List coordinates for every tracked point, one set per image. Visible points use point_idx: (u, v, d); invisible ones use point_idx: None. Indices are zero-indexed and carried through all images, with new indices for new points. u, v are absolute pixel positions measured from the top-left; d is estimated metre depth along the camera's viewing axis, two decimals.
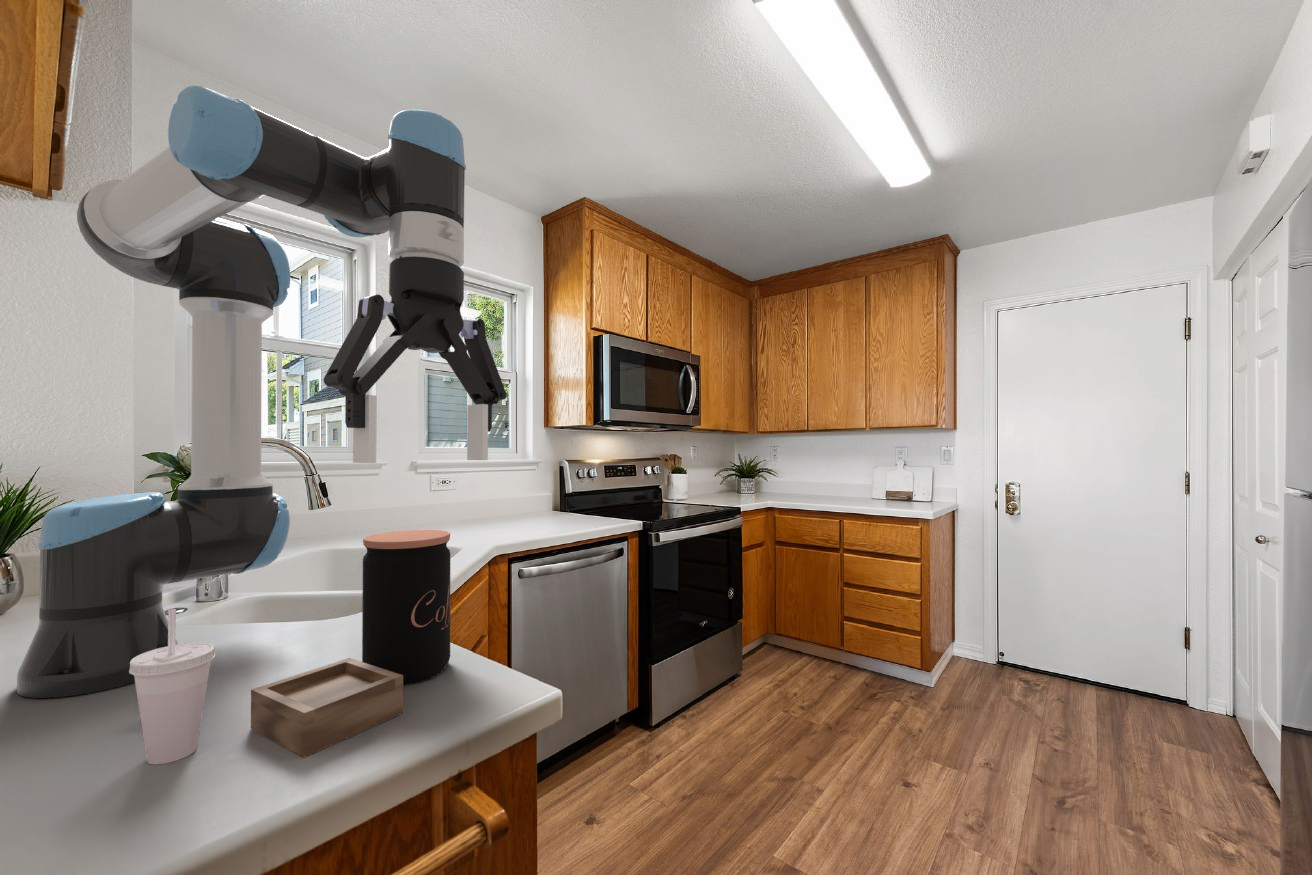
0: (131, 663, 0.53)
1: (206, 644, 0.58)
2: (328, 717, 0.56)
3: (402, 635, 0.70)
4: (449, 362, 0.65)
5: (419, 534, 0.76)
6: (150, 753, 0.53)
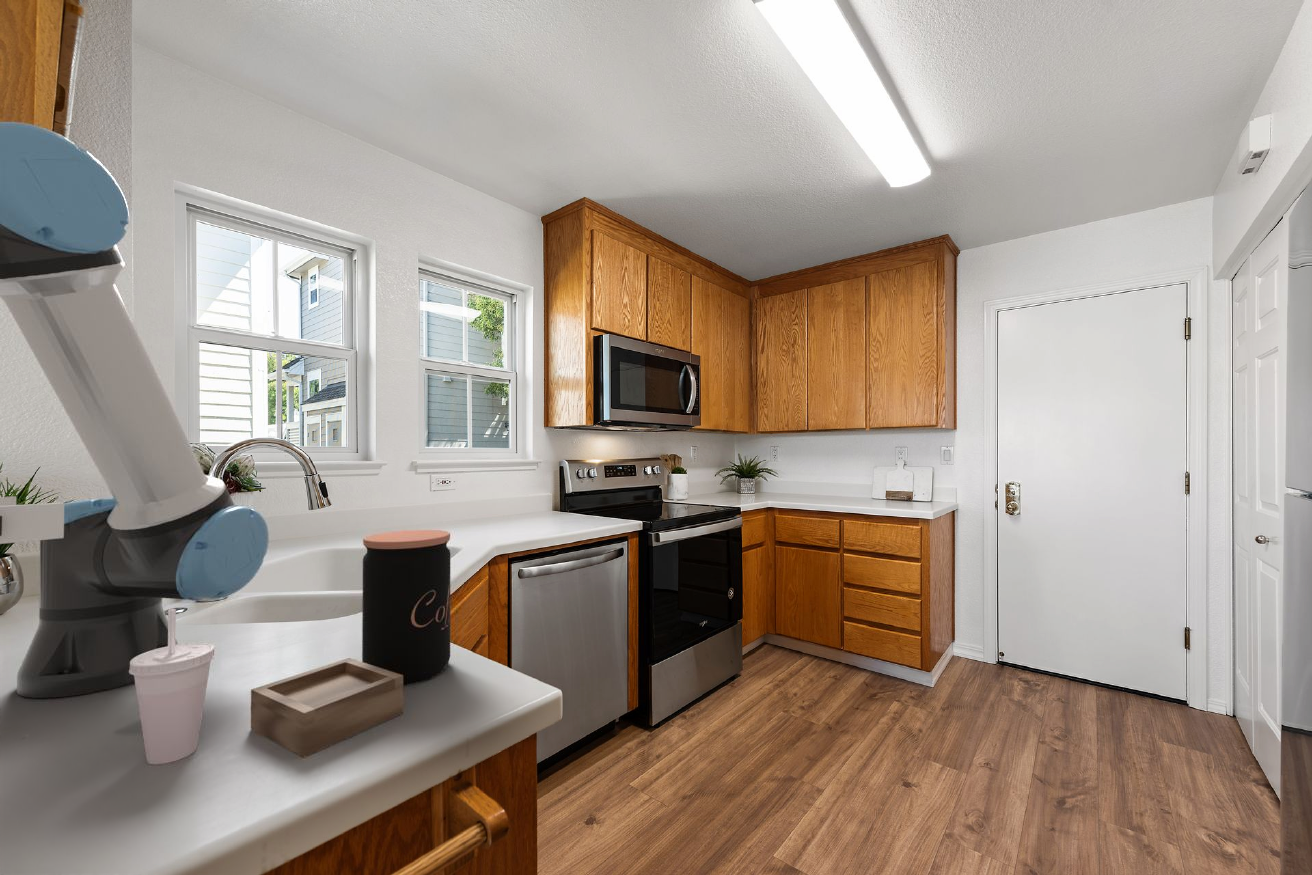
0: (131, 663, 0.53)
1: (205, 644, 0.58)
2: (328, 717, 0.56)
3: (402, 635, 0.70)
4: None
5: (419, 534, 0.76)
6: (150, 753, 0.53)
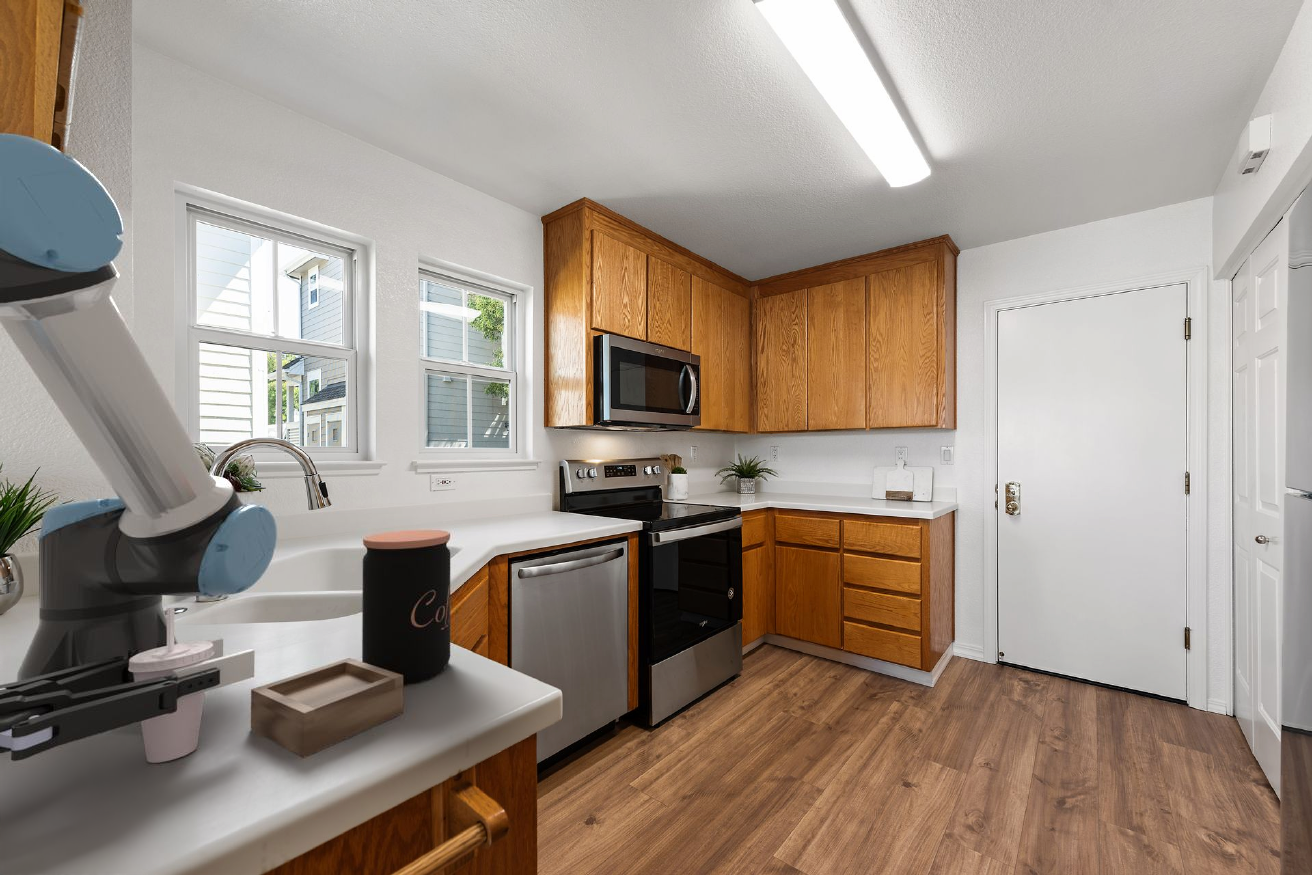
0: (130, 661, 0.53)
1: (204, 643, 0.58)
2: (328, 717, 0.56)
3: (402, 635, 0.70)
4: None
5: (419, 534, 0.76)
6: (150, 751, 0.53)
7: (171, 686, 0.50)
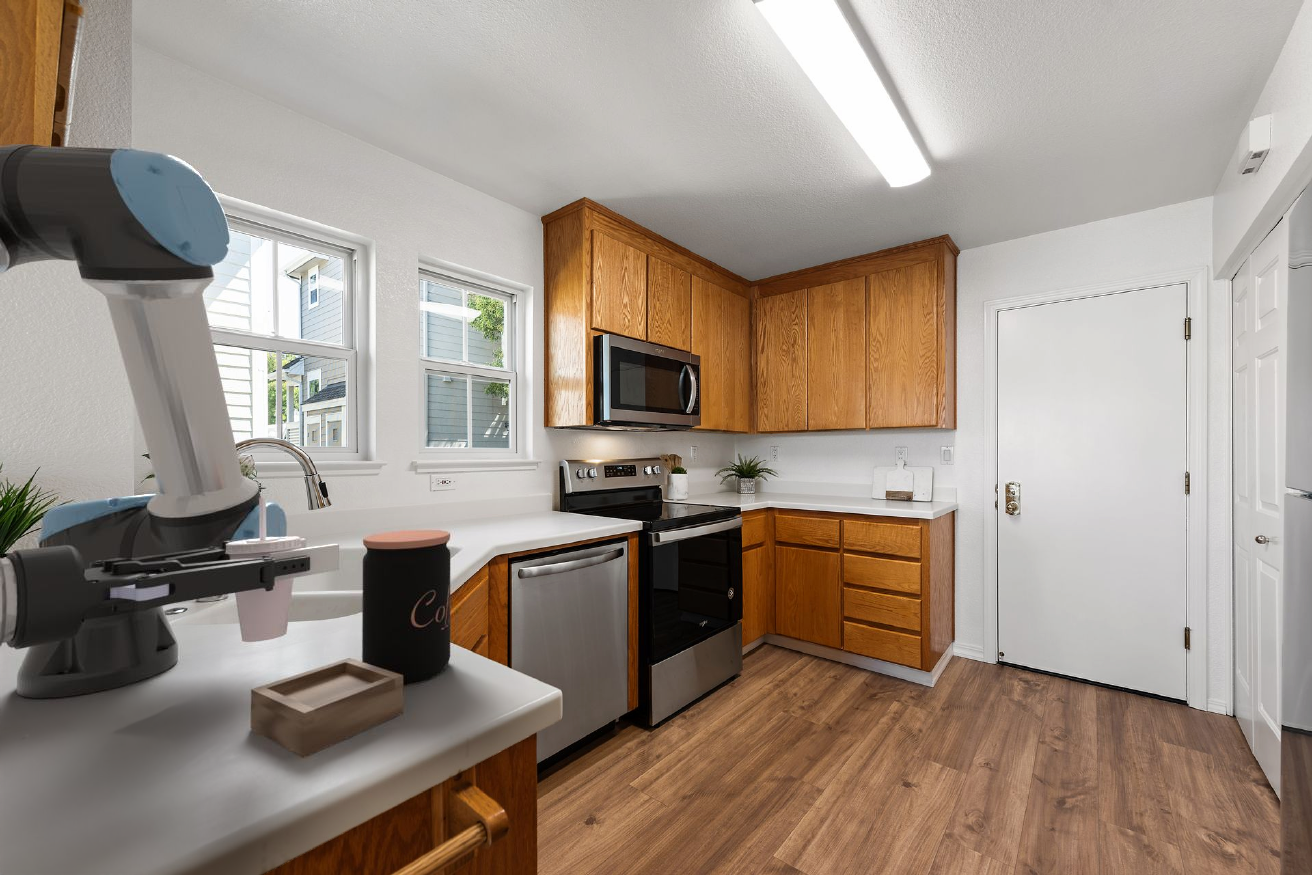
0: (227, 544, 0.56)
1: (291, 537, 0.61)
2: (328, 717, 0.56)
3: (402, 635, 0.70)
4: None
5: (419, 534, 0.76)
6: (246, 631, 0.56)
7: (270, 562, 0.52)
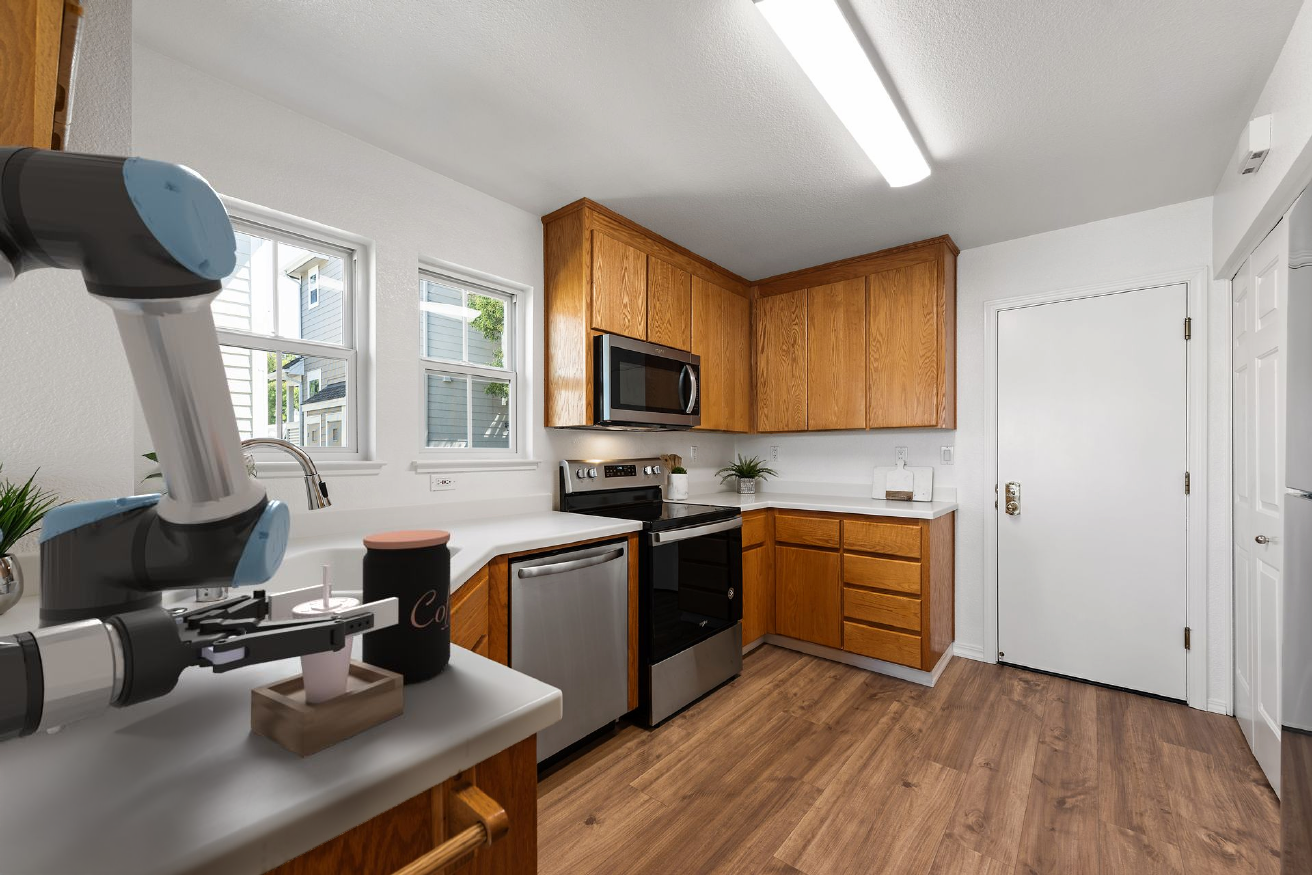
0: (295, 612, 0.58)
1: (349, 599, 0.64)
2: (328, 717, 0.56)
3: (402, 635, 0.70)
4: None
5: (419, 534, 0.76)
6: (311, 693, 0.59)
7: (340, 624, 0.53)
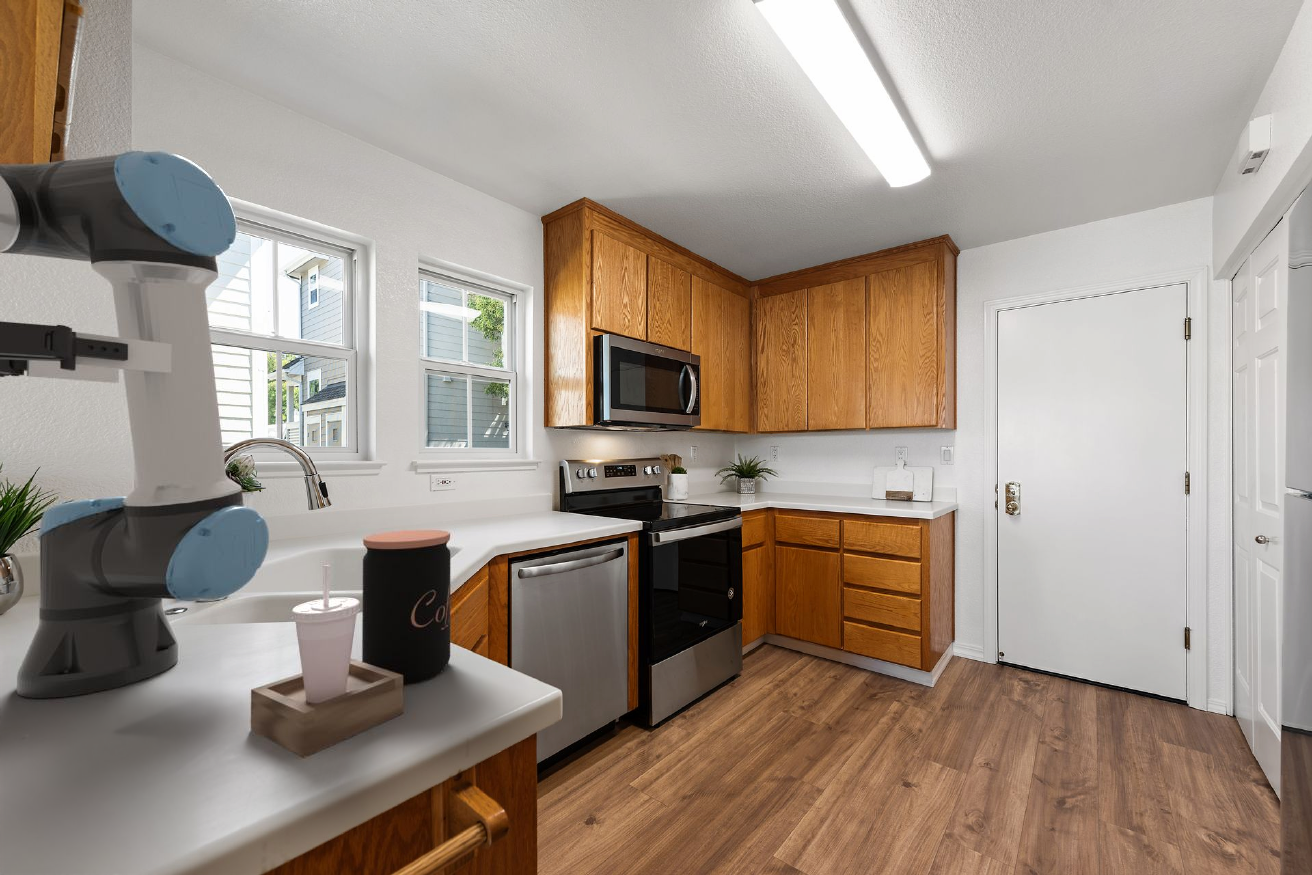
0: (295, 612, 0.59)
1: (349, 599, 0.64)
2: (328, 717, 0.56)
3: (402, 635, 0.70)
4: None
5: (419, 534, 0.76)
6: (311, 693, 0.59)
7: (61, 328, 0.45)
